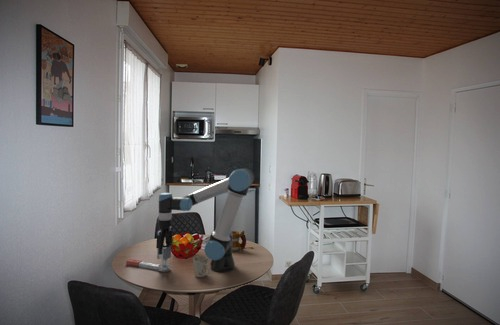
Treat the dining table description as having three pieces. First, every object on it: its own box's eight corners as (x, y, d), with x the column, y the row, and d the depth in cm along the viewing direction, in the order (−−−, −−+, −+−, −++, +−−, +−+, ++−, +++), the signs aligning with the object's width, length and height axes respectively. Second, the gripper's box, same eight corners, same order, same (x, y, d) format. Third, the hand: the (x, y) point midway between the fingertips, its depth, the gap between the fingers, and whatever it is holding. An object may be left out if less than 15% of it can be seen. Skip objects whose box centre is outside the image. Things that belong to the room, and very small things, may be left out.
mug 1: (200, 271, 190) (200, 254, 190) (215, 277, 182) (215, 260, 182) (189, 275, 184) (190, 258, 183) (204, 281, 176) (204, 263, 175)
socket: (170, 257, 192) (171, 245, 191) (165, 260, 186) (165, 248, 186) (162, 255, 193) (163, 244, 193) (157, 258, 188) (157, 247, 188)
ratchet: (172, 269, 192) (172, 256, 192) (165, 273, 186) (166, 259, 185) (131, 262, 202) (131, 249, 202) (124, 266, 195) (124, 253, 195)
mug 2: (227, 246, 239) (228, 227, 238) (248, 249, 234) (248, 229, 233) (221, 251, 229) (222, 230, 228) (243, 254, 223) (244, 233, 223)
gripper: (168, 215, 199) (167, 252, 200) (149, 221, 181) (149, 261, 182) (178, 216, 196) (178, 253, 197) (161, 223, 179) (160, 263, 180)
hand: (164, 257), depth 190 cm, fingers closed on socket, 6 cm apart
